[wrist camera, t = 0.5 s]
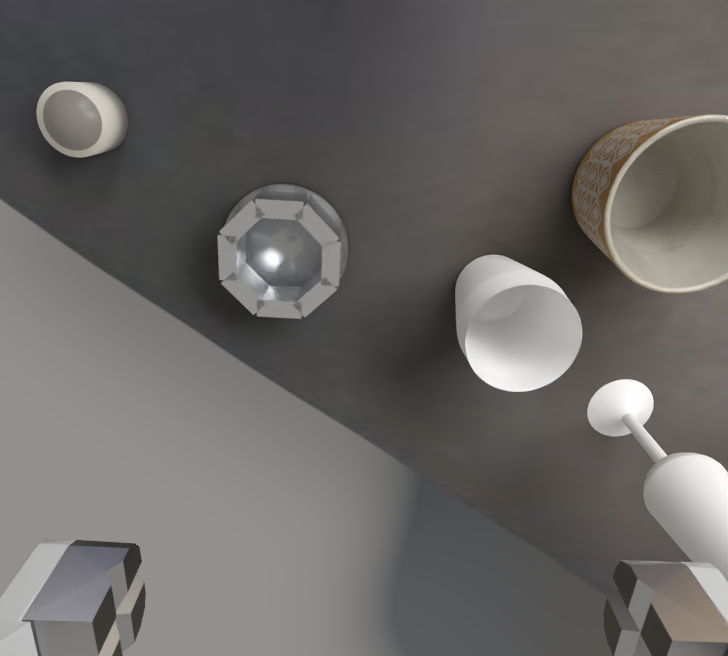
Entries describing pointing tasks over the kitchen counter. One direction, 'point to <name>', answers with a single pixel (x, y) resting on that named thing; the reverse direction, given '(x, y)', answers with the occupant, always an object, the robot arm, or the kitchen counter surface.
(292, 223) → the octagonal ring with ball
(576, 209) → the planter
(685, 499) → the champagne flute
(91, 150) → the cap
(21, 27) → the kitchen counter surface
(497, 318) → the cup
